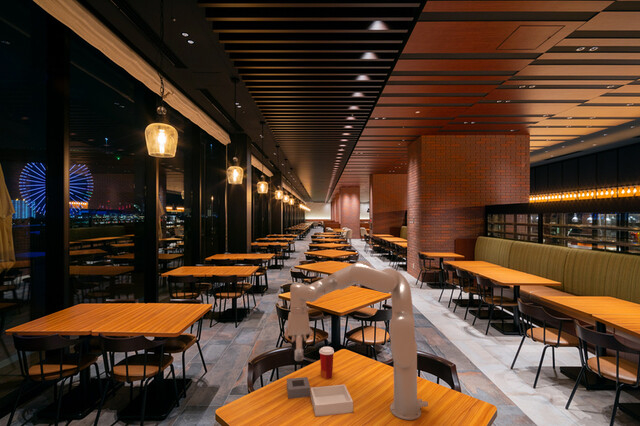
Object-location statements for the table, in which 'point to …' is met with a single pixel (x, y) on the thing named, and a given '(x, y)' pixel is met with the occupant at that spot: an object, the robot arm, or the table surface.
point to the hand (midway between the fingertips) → (298, 348)
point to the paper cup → (326, 362)
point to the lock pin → (298, 347)
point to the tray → (331, 400)
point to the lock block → (298, 387)
